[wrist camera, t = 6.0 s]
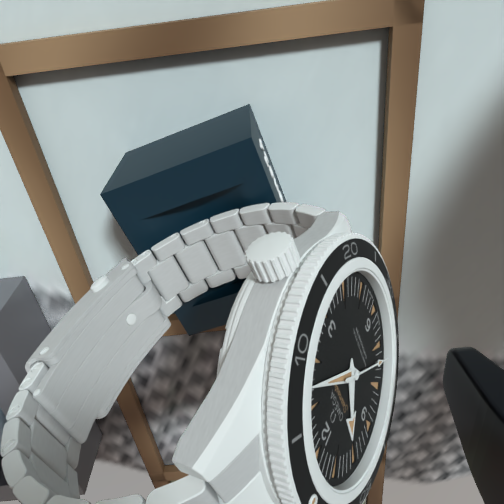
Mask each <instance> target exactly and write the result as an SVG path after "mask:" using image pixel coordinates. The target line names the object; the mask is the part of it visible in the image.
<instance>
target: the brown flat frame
mask: <svg viewBox="0 0 504 504" xmlns="http://www.w3.org/2000/svg"><path fill="white" fill-rule="evenodd" d="M424 1H425V0H327V1H320V2H312V3H305V4H297V5H290V6H282V7H275V8H267V9H260V10H252V11H245V12H237V13H230V14H222V15H214V16H207V17H199V18H192V19H184V20H177V21H169V22H162V23H154V24H147V25H139V26H132V27H124V28H117V29H109V30H102V31H94V32H87V33H79V34H72V35H64V36H56V37H49V38H41V39H34V40H26V41H19V42H11V43H4V44H0V130H1V132H2V135H3V137H4V139H5V142H6V144H7V146H8V149H9V151H10V153H11V156H12V158H13V160H14V163H15V165H16V167H17V170H18V172H19V174H20V176H21V179H22V181H23V183H24V186H25V188H26V190H27V193H28V195H29V197H30V200H31V202H32V204H33V207H34V209H35V211H36V214H37V216H38V218H39V221H40V223H41V225H42V228H43V230H44V232H45V234H46V237H47V239H48V241H49V244H50V246H51V248H52V251H53V253H54V255H55V258H56V260H57V262H58V265H59V267H60V269H61V272H62V274H63V276H64V279H65V281H66V283H67V286H68V288H69V290H70V292H71V295H72V297H73V299H74V302H75V304H76V303H77V302H78V301H79V300H80V299H81V298H82V297H83V296H84V295H85V294H86V293H87V292H88V291H89V290H90V287H91V285H92V284H93V281H92V278H91V275H90V273H89V270H88V268H87V265H86V263H85V260H84V257H83V255H82V252H81V250H80V247H79V245H78V242H77V239H76V237H75V234H74V232H73V229H72V227H71V224H70V221H69V219H68V216H67V214H66V211H65V209H64V206H63V203H62V201H61V198H60V196H59V193H58V191H57V188H56V185H55V183H54V180H53V178H52V175H51V173H50V170H49V168H48V165H47V162H46V160H45V157H44V155H43V152H42V150H41V147H40V144H39V142H38V139H37V137H36V134H35V132H34V129H33V126H32V124H31V121H30V119H29V116H28V114H27V111H26V108H25V106H24V103H23V101H22V98H21V96H20V93H19V90H18V88H17V85H16V83H15V80H14V78H13V75H21V74H29V73H36V72H44V71H52V70H60V69H67V68H75V67H83V66H90V65H98V64H106V63H114V62H121V61H129V60H137V59H145V58H152V57H160V56H168V55H176V54H183V53H191V52H199V51H206V50H214V49H222V48H230V47H237V46H245V45H253V44H261V43H268V42H276V41H284V40H291V39H299V38H307V37H315V36H322V35H330V34H338V33H346V32H353V31H361V30H369V29H377V28H384V27H389V38H388V59H387V80H386V101H385V121H384V142H383V163H382V184H381V204H380V225H379V246H378V251H379V252H380V254H381V256H382V258H383V260H384V263H385V265H386V267H387V271H388V273H389V277H390V280H391V284H392V288H393V293H394V298H395V304H396V312H397V319H398V307H399V295H400V283H401V272H402V260H403V248H404V236H405V225H406V213H407V201H408V189H409V177H410V166H411V154H412V142H413V130H414V119H415V107H416V95H417V83H418V72H419V60H420V48H421V36H422V25H423V13H424ZM168 319H169V320H170V323H171V326H170V327H169V329H168V330H167V331H166V332H165V333H164V334H163V335H162V336H171V335H181V334H188V333H187V332H186V330H185V329H184V327H183V325H182V324H181V322H180V321H179V319H178V318H177V316H176V314H171V315H170V316H168ZM225 327H226V325H223V326H219V327H216V328H213V329H209V330H206V331H203V332H211V331H221V330H226V329H225ZM199 333H201V332H199ZM117 402H118V404H119V406H120V408H121V411H122V413H123V415H124V418H125V420H126V422H127V425H128V427H129V429H130V432H131V434H132V436H133V439H134V441H135V443H136V446H137V448H138V450H139V453H140V455H141V457H142V459H143V462H144V464H145V466H146V469H147V471H148V473H149V476H150V478H151V480H152V483H153V485H154V487H155V489H156V488H159V487H162V486H164V485H167V484H170V483H172V482H175V481H177V480H179V479H181V478H184V477H186V476H188V474H186V473H183V472H181V471H180V470H179V469H178V468H177V467H176V466H175V465H164V463H163V460H162V458H161V455H160V453H159V450H158V447H157V445H156V442H155V440H154V437H153V435H152V432H151V430H150V427H149V424H148V422H147V419H146V417H145V414H144V412H143V409H142V406H141V404H140V401H139V399H138V396H137V394H136V391H135V388H134V386H133V383H132V381H131V378H129V379H128V381H127V382H126V384H125V386H124V387H123V389H122V390H121V392H120V394H119V395H118V397H117ZM386 448H387V444H386V447H385V451H384V454H383V458H382V461H381V464H380V467H379V469H378V472H377V475H376V477H375V480H374V482H373V484H372V486H371V489H370V491H369V493H368V495H367V497H366V499H365V500H366V504H382V494H383V483H384V472H385V460H386ZM363 504H365V501H364V502H363Z"/></svg>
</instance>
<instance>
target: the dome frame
mask: <svg viewBox="0 0 504 504" xmlns="http://www.w3.org/2000/svg"><path fill="white" fill-rule="evenodd" d="M50 332H51V329H50V327H49V325H48V323H47V321H46V319H45V317H44V315H43V313H42V311H41V309H40V307H39V305H38V303H37V301H36V299H35V297H34V295H33V293H32V290H31V288H30V286H29V284H28V282H27V280H26V278H25V276H23V277H13V278H4V279H0V408H1V410H2V411H3V413H4V414H5V416H6V415H7V413H8V410H9V407H10V405H11V403H12V401H13V399H14V397H15V395H16V394H17V393H18V392H19V386H20V385H21V383H22V381H23V380H24V378H25V377H26V375H27V372H26V369H25V365H26V362H27V361H28V360H29V358H30V357H31V356H32V354H33V353H34V352H35V351H36V349H37V348H38V347H39V346H40V344H41V343H42V342H43V341H44V339H45V338H46V337H47V336H48V335H49V333H50ZM101 438H102V433H101V431H100V429H99V427H98V425H97V423H96V421H94V423H93V425H92V427H91V430H90V432H89V435H88V437H87V440H86V441H85V442H84V443H82V444H81V449H80V454H79V461H78V465H77V467H76V468H75V469H74V470H75V471H76V472H77V478H78V488H79V494H80V495H82V494H85V491H86V488H87V485H88V481H89V478H90V475H91V471H92V468H93V464H94V461H95V458H96V454H97V451H98V448H99V444H100V441H101ZM2 459H3V457H2V456H1V454H0V501H11V500H18V499H17V498H16V497H15V496H14V494H13V490H12V489H11V488H10V487H9V486H8V484H7V481H6V479H5V476H4V473H3V469H2Z"/></svg>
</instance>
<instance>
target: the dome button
mask: <svg viewBox="0 0 504 504" xmlns="http://www.w3.org/2000/svg"><path fill="white" fill-rule="evenodd" d="M6 422H8V421H7V420H6V416H5V414H4V413H3V411H2V410H1V408H0V454H1V439H2V433H3V428H4V425H5V423H6Z"/></svg>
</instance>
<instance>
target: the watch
mask: <svg viewBox="0 0 504 504" xmlns="http://www.w3.org/2000/svg"><path fill="white" fill-rule="evenodd" d="M100 195H101V197H102V198H103V200H104V201H105V203H106V204H107V206H108V208H109V209H110V211H111V212H112V214H113V216H114V217H115V219H116V220H117V222H118V224H119V225H120V227H121V228H122V230H123V232H124V233H125V235H126V236H127V238H128V240H129V241H130V243H131V244H132V246H133V247H134V249H135V251H136V252H137V254H138V255H139V256H137V257H136V258H135V259H133V260H132V261H131V262H130V261H128V260H127V259H126V258H124V259H123V260H122V261H121V262H119V263H118V264H117V265H116V266H115V267H114V268H113V269H111V270H110V271H109V272H108V273H107V274H106V275H105V276H102V277H100V278H98V279H97V280H96V281H95V282H94V283H93V284H92V285H91V287H90V290H89V291H88V292H87V293H86V294H85V295H84V296H83V297H82V298H81V299H80V300H79V301H78V302H77V303H76V304H75V305H74V306H73V307H72V308H71V309H70V310H69V312H68V313H67V314H66V315H65V316H64V317H63V318H62V319H61V321H60V322H59V323H58V324H57V325H56V326H55V327H54V329H53V330H52V331H51V332H50V333H49V335H48V336H47V337H46V338H45V339H44V341H43V342H42V343H41V344H40V346H39V347H38V348H37V349H36V351H35V352H34V353H33V354H32V356H31V357H30V358H29V360H28V361H27V362H26V365H25V369H26V372H27V375H26V377H25V378H24V380H23V381H22V383H21V385H20V386H19V392H18V393H17V394H16V395H15V397H14V399H13V401H12V403H11V405H10V407H9V410H8V413H7V415H6V420H7V421H8V422H6V423H5V425H4V428H3V433H2V439H1V456H2V457H3V459H2V469H3V473H4V476H5V479H6V481H7V484H8V486H9V487H10V488H11V489H12V490H13V494H14V496H15V497H16V498H17V499H18V500H19V502H21V504H91V503H89V502H88V501H87V500H83V499H80V494H79V488H78V478H77V472H76V471H75V470H74V469H75V468H76V467H77V465H78V461H79V454H80V449H81V444H82V443H84V442H85V441H86V440H87V437H88V435H89V432H90V430H91V427H92V425H93V423H94V421H95V419H101V418H103V417H105V416H106V415H107V414H108V413H109V411H110V409H111V407H112V406H113V404H114V402H115V400H116V399H117V397H118V395H119V394H120V392H121V390H122V389H123V387H124V386H125V384H126V382H127V381H128V379H129V378H130V376H131V375H132V373H133V372H134V370H135V369H136V368H137V366H138V365H139V364H140V362H141V361H142V360H143V358H144V357H145V356H146V355H147V353H148V352H149V351H150V350H151V348H152V347H153V346H154V345H155V343H156V342H157V341H158V340H159V339H160V338H161V336H162V335H163V334H164V333H165V332H166V331H167V330H168V329H169V327H170V326H171V323H170V320H169V319H168V316H170V315H171V314H172V313H173V312H174V313H175V314H176V316H177V318H178V319H179V321H180V322H181V324H182V325H183V327H184V329H185V330H186V332H187V333H188V335H189V336H190V335H193V334H196V333H199V332H203V331H206V330H209V329H213V328H216V327H219V326H223V325H226V327H225V329H226V333H225V337H224V342H223V347H222V348H221V349H220V353H219V360H218V367H217V378H216V380H215V382H214V384H213V386H212V388H211V390H210V391H209V393H208V395H207V396H206V398H205V399H204V401H203V403H202V404H201V406H200V408H199V409H198V411H197V412H196V414H195V416H194V417H193V419H192V420H191V422H190V424H189V425H188V427H187V428H186V430H185V431H184V433H183V434H182V436H181V438H180V439H179V442H178V444H177V447H176V450H175V452H174V455H173V458H172V462H173V463H174V464H175V466H176V467H177V468H178V469H179V470H180V471H181V472H183V473H186V474H188V476H186V477H184V478H181V479H179V480H177V481H175V482H172V483H170V484H167V485H164V486H162V487H159V488H156V489H154V490H153V491H152V492H151V493H150V494H149V495H148V497H147V500H145V499H144V498H143V497H142V496H141V495H139V494H134V495H130V496H125V497H121V498H115V499H107V500H101V501H98V502H97V503H95V504H363V502H364V501H365V499H366V497H367V495H368V493H369V491H370V489H371V486H372V484H373V482H374V480H375V477H376V475H377V472H378V469H379V467H380V464H381V461H382V458H383V454H384V451H385V447H386V444H387V440H388V436H389V431H390V427H391V422H392V416H393V410H394V404H395V396H396V388H397V377H398V357H399V342H398V321H397V312H396V304H395V298H394V293H393V288H392V284H391V280H390V277H389V273H388V271H387V267H386V265H385V263H384V260H383V258H382V256H381V254H380V252H379V251H378V249H377V248H376V246H374V243H372V241H371V240H369V239H368V238H367V237H365V236H364V235H362V234H359V233H352V230H351V227H350V223H349V221H348V219H347V217H346V215H345V214H343V213H341V212H339V211H335V212H329V211H327V212H326V210H325V209H323V208H320V207H317V206H313V205H307V204H301V205H299V204H298V203H293V202H286V199H285V197H284V194H283V192H282V189H281V186H280V184H279V181H278V178H277V176H276V173H275V170H274V168H273V165H272V162H271V160H270V157H269V154H268V152H267V149H266V146H265V144H264V141H263V138H262V136H261V133H260V130H259V128H258V125H257V122H256V120H255V117H254V114H253V112H252V109H251V106H250V104H248V105H246V106H243V107H241V108H238V109H236V110H233V111H231V112H228V113H226V114H223V115H220V116H218V117H215V118H213V119H210V120H208V121H205V122H203V123H200V124H198V125H195V126H193V127H190V128H187V129H185V130H182V131H180V132H177V133H175V134H172V135H170V136H167V137H165V138H162V139H160V140H157V141H154V142H152V143H149V144H147V145H144V146H142V147H139V148H137V149H134V150H132V151H129V152H127V153H125V155H124V157H123V158H122V160H121V161H120V163H119V165H118V166H117V168H116V170H115V171H114V173H113V175H112V176H111V178H110V179H109V181H108V183H107V184H106V186H105V188H104V189H103V191H102V192H101V194H100Z"/></svg>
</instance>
